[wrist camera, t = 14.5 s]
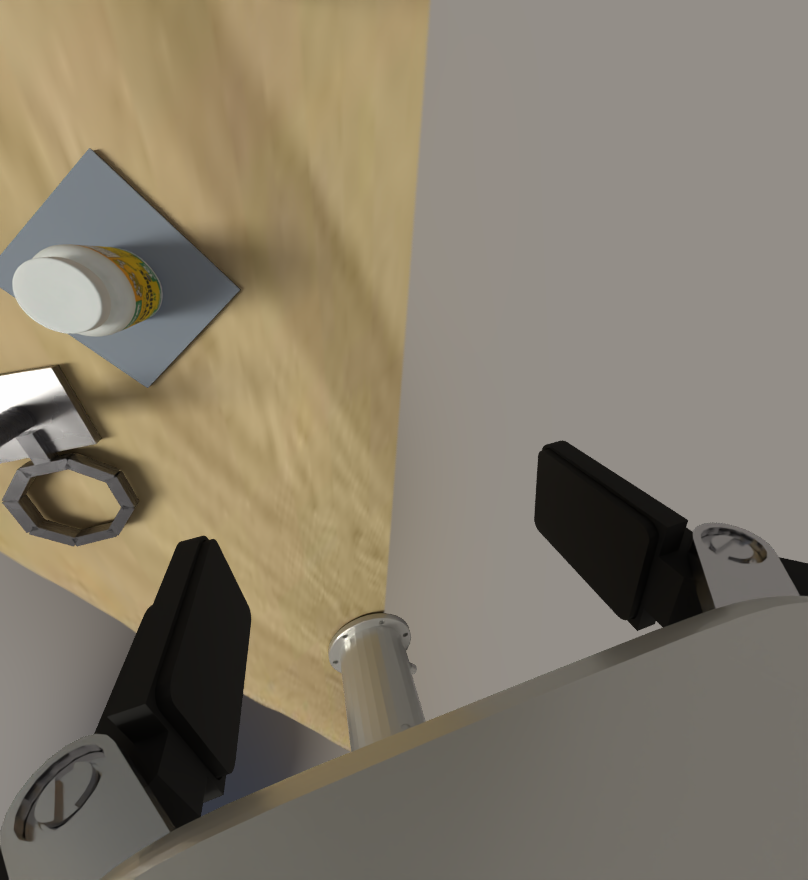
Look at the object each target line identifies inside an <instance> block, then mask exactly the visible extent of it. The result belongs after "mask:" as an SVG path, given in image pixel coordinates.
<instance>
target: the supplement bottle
mask: <svg viewBox="0 0 808 880" xmlns="http://www.w3.org/2000/svg"><path fill="white" fill-rule="evenodd" d="M12 287H13V292H14V295H15V298H16V300H17V302H18V304H19V305H20V306H21V308H22V309H23V310H24V312H25V313H26V314H27V315H29V316H30V317H31V318H32V319H33V320H35V321H36V322H37V323H39V324H41V325H42V326H44V327H46V328H48V329H51V330H54V331H57V332H61V333H70V334H76V333H77V334H81V335H85V336H95V337H98V336H107V335H111V334H114V333H117V332H119V331H122V330H124V329H126V328H129V327H131V326H133V325H135V324H138V323H140V322H142V321H144V320H146V319H148V318H150V317H151V316H153V315H154V314H155V313H156V312H157V311H158V310H159V308H160V306H161V303H162V298H163V293H162V286H161V283H160V281H159V279H158V277H157V276H156V274H155V273H154V271H153V270H152V268H151V267H150V266H149V265H148V264H147V263H146V262H145V261H144V260H143V259H142V258H140V257H139V256H137V255H135V254H133V253H132V252H129V251H127V250H124V249H120V248H114V247H102V246H86V245H71V244H63V245H54V246H50V247H47V248H45V249H43V250H41V251H40V252H38V253H37V254H36V255H35V256H34V257H33V258H32V259H31V260H28V261H26V262H24V263H23V264H21V265H20V266H19V267H18V268H17V270H16V271H15V273H14V276H13V281H12Z"/></svg>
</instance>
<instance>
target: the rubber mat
mask: <svg viewBox="0 0 808 880" xmlns="http://www.w3.org/2000/svg"><path fill="white" fill-rule="evenodd" d="M63 244H71V245H86V246H102V247H114V248H120V249H124V250H127V251H129V252H132V253H133V254H135V255H137V256H139V257H140V258H142V259H143V260H144V261H145V262H146V263H147V264H148V265H149V266H150V267H151V268H152V270H153V271H154V273H155V274H156V276H157V277H158V279H159V281H160V283H161V286H162V293H163V298H162V303H161V306H160V308H159V310H158V311H157V312H156V313H155V314H154V315H153V316H151V317H150V318H148V319H146V320H144V321H142V322H140V323H138V324H135V325H133V326H131V327H129V328H126V329H124V330H122V331H119V332H117V333H114V334H111V335H107V336H98V337H95V336H85V335H81V334H77V333H76V334H70V333H68V334H69V335H71V336H72V337H73V338H75V339H76V340H78V341H79V342H81V343H82V344H84V345H85V346H87V347H88V348H90V349H91V350H93V351H94V352H95V353H97V354H98V355H100V356H101V357H103V358H104V359H106V360H107V361H109V362H110V363H112V364H113V365H114V366H116V367H117V368H119V369H120V370H122V371H123V372H125V373H126V374H128V375H129V376H131V377H132V378H134V379H135V380H136V381H138V382H139V383H141V384H142V385H144V386H145V387H147V388H148V387H149V386H150V385H151V384H152V383H153V382H154V381H155V380H156V379H157V378H158V377H159V376H160V375H161V373H162V372H163V371H164V370H165V369H166V368H167V367H168V366H169V365H170V364H171V363H172V362H173V361H174V360H175V359H176V358H177V356H178V355H179V354H180V353H181V352H182V351H183V350H184V349H185V348H186V347H187V346H188V345H189V344H190V343H191V342H192V341H193V339H194V338H195V337H196V336H197V335H198V334H199V333H200V332H201V331H202V330H203V329H204V328H205V327H206V326H207V325H208V324H209V323H210V321H211V320H212V319H213V318H214V317H215V316H216V315H217V314H218V313H219V312H220V311H221V310H222V309H223V308H224V307H225V306H226V304H227V303H228V302H229V301H230V300H231V299H232V298H233V297H234V296H235V295H236V294H237V293H238V292H239V291H240V289H239V288H238V287H237V286H236V285H235V284H234V283H233V282H232V281H231V280H230V279H229V278H228V277H227V276H226V275H224V274H223V273H222V272H221V271H220V270H219V269H218V268H217V267H216V266H215V265H214V264H213V263H212V262H211V261H210V260H209V259H208V258H206V257H205V256H204V255H203V254H202V253H201V252H200V251H199V250H198V249H197V248H196V247H195V246H194V245H193V244H192V243H191V242H189V241H188V240H187V239H186V238H185V237H184V236H183V235H182V234H181V233H180V232H179V231H178V230H177V229H176V228H175V227H174V226H173V225H171V224H170V223H169V222H168V221H167V220H166V219H165V218H164V217H163V216H162V215H161V214H160V213H159V212H158V211H157V210H156V209H155V208H153V207H152V206H151V205H150V204H149V203H148V202H147V201H146V200H145V199H144V198H143V197H142V196H141V195H140V194H139V193H138V192H137V191H135V190H134V189H133V188H132V187H131V186H130V185H129V184H128V183H127V182H126V181H125V180H124V179H123V178H122V177H121V176H120V175H118V174H117V173H116V172H115V171H114V170H113V169H112V168H111V167H110V166H109V165H108V164H107V163H106V162H105V161H104V160H103V159H102V158H100V157H99V156H98V155H97V154H96V153H95V152H94V151H93V150H91V149H90V148H89V149H88V150H87V152H86V153H85V154H84V155H83V156H82V158H81V159H80V160H79V161H78V162H77V164H76V165H75V166H74V167H73V168H72V170H71V171H70V172H69V173H68V174H67V176H66V177H65V178H64V179H63V180H62V182H61V183H60V184H59V185H58V187H57V188H56V189H55V190H54V191H53V193H52V194H51V195H50V196H49V197H48V199H47V200H46V201H45V202H44V203H43V205H42V206H41V207H40V208H39V209H38V211H37V212H36V213H35V214H34V215H33V217H32V218H31V219H30V220H29V221H28V223H27V224H26V225H25V226H24V227H23V229H22V230H21V231H20V232H19V233H18V235H17V236H16V237H15V238H14V239H13V241H12V242H11V243H10V244H9V245H8V247H7V248H6V249H5V250H4V251H3V253H2V254H1V255H0V288H2V289H3V290H5V291H6V292H8V293H9V294H10V295H12V296H13V297H15V295H14V292H13V287H12V281H13V276H14V273H15V271H16V270H17V268H18V267H19V266H20V265H21V264H23V263H24V262H26V261H28V260H31V259H32V258H33V257H34V256H35V255H36V254H37V253H38V252H40V251H41V250H43V249H45V248H47V247H50V246H54V245H63Z"/></svg>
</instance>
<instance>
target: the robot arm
mask: <svg viewBox="0 0 808 880" xmlns="http://www.w3.org/2000/svg"><path fill="white" fill-rule="evenodd" d="M534 521H535V525H536V527H537V529H538V530H539V532H540V533H541V534H542V535H543V536H544V537H545V538H546V539H547V540H548V541H549V542H550V544H551V545H552V546H553V547H554V548H555V549H556V550H557V551H558V552H559V553H560V554H561V555H562V556H563V558H564V559H566V561H567V562H568V563H569V564H570V565H571V566H572V567H573V568H574V569H575V570H576V572H577V573H578V574H579V575H580V576H581V577H582V578H583V579H584V580H585V581H586V582H587V583H588V584H589V586H590V587H591V588H592V589H593V590H594V591H595V592H596V593H597V594H598V595H599V596H600V597H601V599H602V600H603V601H604V602H605V603H606V604H607V605H608V606H609V607H610V608H611V609H612V610H613V611H614V613H615V614H616V615H617V616H618V617H620V618H621V619H623V620H628V622H629V623H630V624H631V625H632V626H633V627H634V628H635V629H636V630H637V631H638V630H641V629H643V628H646V627H648V626H651V625H653V624H655V621H657V622H658V623H659V624H660V625H661V626H662V627H663V628H661V629H658V630H655V631H653V632H650V633H647V634H645V635H642V636H640V637H638V638H635V639H632V640H630V641H627V642H625V643H622V644H620V645H617V646H615V647H612V648H609V649H607V650H604V651H602V652H599V653H597V654H594V655H592V656H589V657H587V658H584V659H581V660H579V661H576V662H574V663H571V664H569V665H566V666H564V667H561V668H559V669H556V670H554V671H551V672H549V673H546V674H544V675H541V676H538V677H536V678H534V679H531V680H528V681H526V682H524V683H521V684H519V685H516V686H513V687H511V688H508V689H506V690H503V691H501V692H498V693H496V694H493V695H491V696H488V697H486V698H483V699H481V700H478V701H476V702H473V703H471V704H468V705H466V706H463V707H461V708H459V709H456V710H454V711H451V712H449V713H446V714H444V715H441V716H439V717H436V718H434V719H431V720H429V721H425V718H424V715H423V711H422V708H421V704H420V701H419V697H418V694H417V691H416V688H415V684H414V681H413V677H412V674H415V672H416V670H417V668H416V665H414V664H412V663H410V662H409V660H408V656H407V653H406V650H407V648H408V646H409V644H410V640H411V635H410V630H409V627H408V625H407V623H406V622H405V621H404V620H403V619H402V618H400V617H398V616H396V615H392V614H386V613H377V614H370V615H366V616H363V617H360V618H358V619H355V620H353V621H351V622H350V623H348V624H346V625H345V626H344V627H343V628H341V629H340V630H339V631H338V632H337V633H336V634H335V635H334V637H333V639H332V640H331V642H330V645H329V650H328V654H329V661H330V664H331V665H332V667H333V668H334V669H336V670H337V671H338V672H341V673H342V680H343V688H344V696H345V705H346V713H347V721H348V729H349V737H350V745H351V752H350V753H348V754H345V755H343V756H340V757H338V758H335V759H333V760H330V761H328V762H325V763H323V764H320V765H318V766H315V767H313V768H311V769H308V770H306V771H304V772H301V773H299V774H297V775H294V776H292V777H290V778H287V779H285V780H283V781H280V782H278V783H276V784H273V785H271V786H269V787H266V788H264V789H262V790H259V791H257V792H254V793H252V794H250V795H247V796H245V797H243V798H241V799H238V800H236V801H233V802H231V803H229V804H227V805H225V806H222V807H220V808H218V809H216V810H214V811H212V812H210V813H208V814H206V815H204V816H202V817H201V812H202V806H203V803H204V802H207V801H209V800H212V799H214V798H217V797H220V796H222V795H223V794H224V786H225V779H226V775H227V774H230V773H232V771H233V769H234V766H235V760H236V751H237V742H238V733H239V724H240V715H241V707H242V698H243V689H244V680H245V671H246V662H247V654H248V645H249V636H250V627H251V613H250V609H249V606H248V604H247V602H246V600H245V598H244V596H243V594H242V592H241V590H240V588H239V586H238V584H237V582H236V579H235V577H234V575H233V573H232V571H231V569H230V567H229V565H228V563H227V561H226V559H225V557H224V555H223V553H222V551H221V549H220V547H219V545H218V543H217V541H216V540H215V539H211V540H209V539H208V538H207V537H206V536H200V537H196V538H193V539H189V540H185V541H181V542H179V543H178V545H177V547H176V549H175V551H174V554H173V556H172V559H171V561H170V564H169V566H168V569H167V571H166V574H165V576H164V579H163V581H162V583H161V586H160V588H159V591H158V593H157V596H156V598H155V601H154V603H153V605H152V606H150V607H149V608H148V609H147V611H146V613H145V614H144V617H143V619H142V621H141V624H140V626H139V628H138V631H137V633H136V636H135V638H134V640H133V643H132V645H131V648H130V650H129V652H128V655H127V657H126V659H125V662H124V664H123V667H122V669H121V671H120V674H119V676H118V678H117V681H116V683H115V686H114V688H113V690H112V693H111V695H110V698H109V700H108V702H107V705H106V707H105V710H104V712H103V714H102V717H101V719H100V721H99V724H98V726H97V728H96V731H95V733H94V734H93V735H89V736H85V737H82V738H80V739H78V740H76V741H74V742H72V743H70V744H69V745H67V746H65V747H64V748H62V749H61V750H60V751H58V752H57V753H56V754H54V755H53V756H52V757H51V758H49V759H48V760H47V761H46V762H45V763H44V764H43V765H42V766H41V767H40V768H39V769H38V770H37V771H36V772H35V773H34V774H32V776H31V777H30V778H29V780H28V781H27V782H26V783H25V785H24V786H23V787H22V788H21V790H20V791H19V792H18V794H17V795H16V797H15V799H14V800H13V802H12V804H11V806H10V807H9V809H8V811H7V813H6V815H5V819H4V822H3V825H2V827H1V830H0V880H808V563H803V562H798V561H794V560H789V559H784V558H780V557H778V555H777V554H776V552H775V551H774V549H773V548H772V547H771V546H770V544H768V543H767V542H766V541H765V540H763V539H762V538H761V537H759V536H757V535H755V534H753V533H751V532H749V531H747V530H745V529H742V528H739V527H736V526H732V525H728V524H722V523H706V524H702V525H699V526H697V527H696V528H695V529H694V531H693V532H692V531H690V530H689V529H688V528H686V525H687V522H688V520H687V519H685V518H684V517H682V516H681V515H679V514H678V513H676V512H675V511H673V510H671V509H670V508H668V507H666V506H665V505H664V504H662V503H661V502H659V501H657V500H656V499H654V498H653V497H651V496H650V495H648V494H647V493H645V492H644V491H642V490H640V489H639V488H637V487H636V486H634V485H633V484H631V483H630V482H628V481H626V480H625V479H623V478H622V477H620V476H619V475H617V474H616V473H614V472H612V471H611V470H609V469H608V468H606V467H605V466H603V465H602V464H600V463H599V462H597V461H595V460H594V459H592V458H591V457H589V456H588V455H586V454H585V453H583V452H581V451H580V450H578V449H577V448H575V447H574V446H572V445H570V444H569V443H568V442H566V441H558V442H554V443H551V444H547V445H545V446H544V447H543V448H542V451H540V452H539V455H538V468H537V484H536V500H535V517H534Z"/></svg>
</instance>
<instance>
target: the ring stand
mask: <svg viewBox="0 0 808 880" xmlns="http://www.w3.org/2000/svg"><path fill="white" fill-rule="evenodd" d="M100 440H101V438H100V436H99V434H98V432H97V431H96V429H95V427H94V426H93V424H92V422H91V420H90V419H89V417H88V415H87V414H86V412H85V410H84V408H83V407H82V405H81V403H80V402H79V400H78V398H77V396H76V395H75V393H74V391H73V390H72V388H71V386H70V384H69V383H68V381H67V379H66V378H65V376H64V374H63V372H62V371H61V369H60V367H59V366H58V365H53V366H47V367H41V368H35V369H29V370H23V371H17V372H10V373H4V374H0V463H5V462H10V461H14V460H19V459H24V458H30V459H31V461H29V462H27V463H26V464H24V465H23V466H22V467H20V468H19V469H18V470H17V471H16V473H15V475H14V477H13V479H12V481H11V483H10V485H9V487H8V489H7V491H6V493H5V495H4V497H3V499H2V501H3V502H2V503H3V504H4V505H5V507H6V508H7V509H8V510H9V512H10V513H11V514H12V515H13V516H14V518H15V519H16V520H17V521H18V523H19V524H20V525H21V526H22V528H23V529H24V530H25V531H26V533H28V532H30V533H29V534H30V535H34V536H38V537H41V538H45V539H49V540H52V541H56V542H60V543H63V544H67V545H71V546H75V545H76V546H80V545H84V544H88V543H92V542H96V541H100V540H104V539H108V538H112V537H116V536H117V535H119V534H120V532H121V531H122V529H123V527H124V526H125V524H126V522H127V521H128V519H129V517H130V516H131V514H132V512H133V511H134V509H135V507H136V506H137V504H138V501H139V499H138V498H137V496H136V494H135V492H134V491H133V489H132V487H131V486H130V484H129V482H128V480H127V479H126V477H125V475H124V473H123V472H122V471H119V470H120V469H118V468H116V467H113V466H110V465H108V464H105V463H102V462H100V461H97V460H94V459H92V458H89V457H86V456H84V455H81V454H78V453H75V454H74V453H68V454H63V455H58V454H57V452H58V451H63V450H68V449H73V448H78V447H83V446H88V445H93V444H97V443H98V442H99V441H100ZM67 469H69V470H72V471H75V472H78V473H81V474H83V475H86V476H89V477H92V478H95V479H97V480H100V481H103V482H106V483H107V485H108V486H109V488H110V490H111V491H112V493H113V495H114V496H115V498H116V499H117V501H118V503H119V504H120V506H121V509H120V511H119V512H118V514H117V516H116V517H115V519H114V521H113V522H111V523H107V524H103V525H98V526H94V527H90V528H86V529H82V530H80V529H77V528H73V527H70V526H66V525H63V524H60V523H56V522H53V521H49V520H46V519H44V517H43V516H42V515H41V513H40V512H39V511H38V509H37V508H36V507H35V505H34V504H33V503H32V501H31V500H30V499H29V498H28V496H27V495H26V494H27V492H28V490H29V489H30V487H31V485H32V483H33V481H34V479H35V477H36V476H39V475H44V474H48V473H53V472H58V471H62V470H67Z"/></svg>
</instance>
